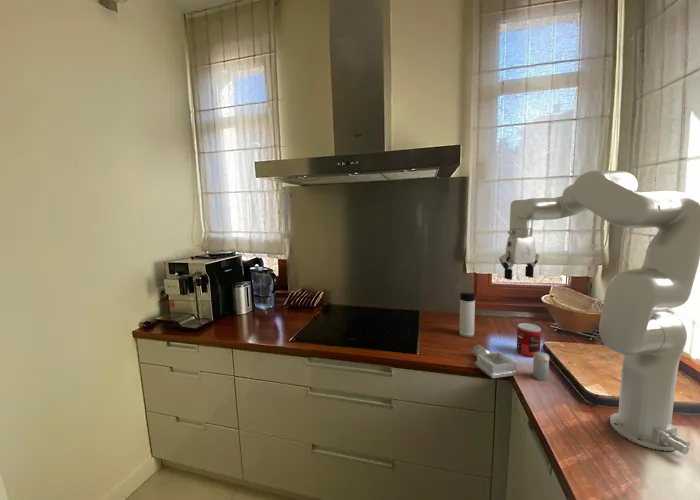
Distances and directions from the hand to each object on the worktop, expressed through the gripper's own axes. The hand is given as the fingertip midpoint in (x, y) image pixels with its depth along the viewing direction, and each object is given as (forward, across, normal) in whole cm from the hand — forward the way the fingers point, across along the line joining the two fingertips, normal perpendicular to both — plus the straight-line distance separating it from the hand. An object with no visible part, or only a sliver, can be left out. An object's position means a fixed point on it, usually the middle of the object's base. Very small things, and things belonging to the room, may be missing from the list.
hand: (518, 278), depth 117 cm
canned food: (+31, +5, -1) cm, 31 cm away
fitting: (+31, -15, -4) cm, 34 cm away
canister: (+31, -5, -16) cm, 35 cm away
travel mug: (+31, -6, +22) cm, 38 cm away
